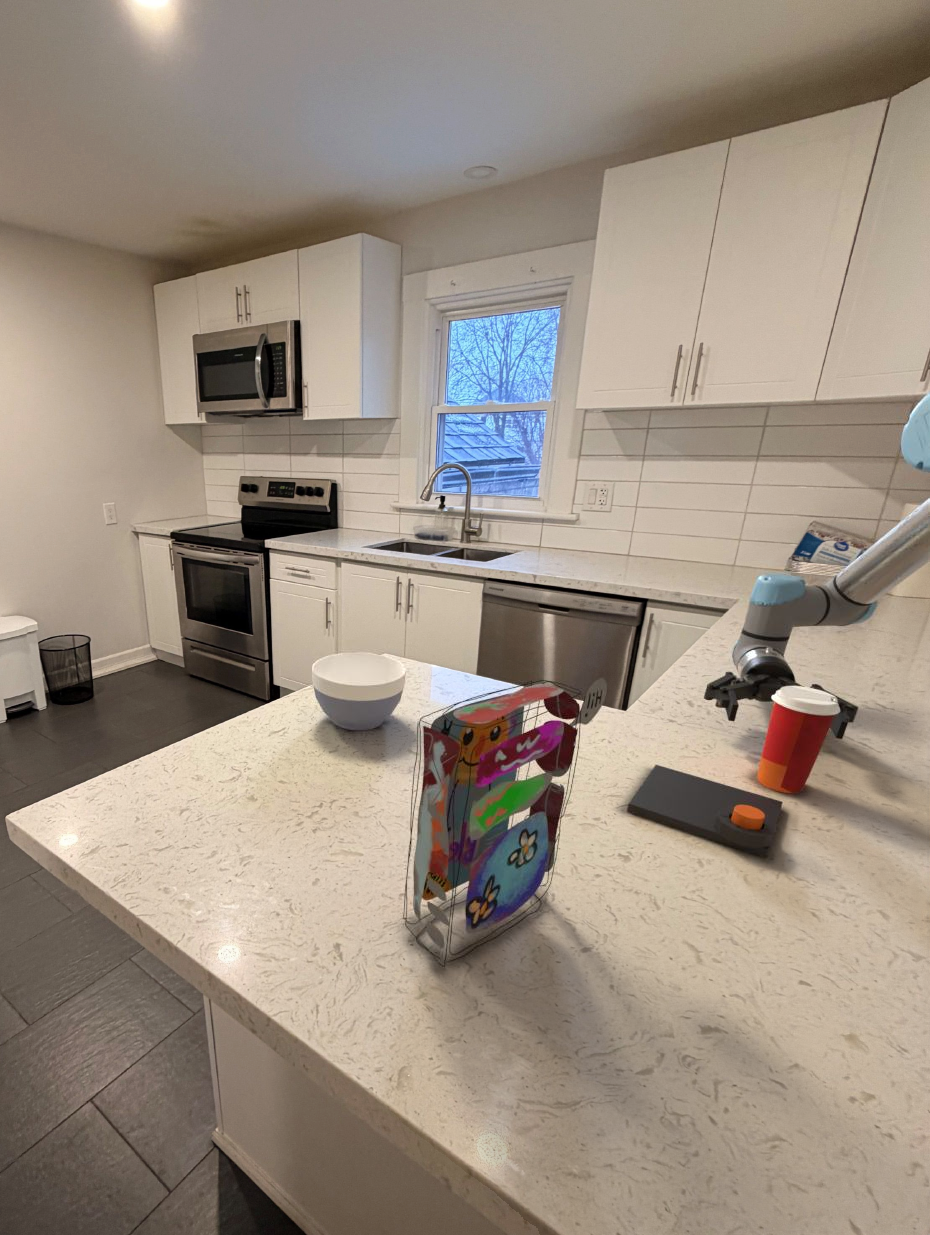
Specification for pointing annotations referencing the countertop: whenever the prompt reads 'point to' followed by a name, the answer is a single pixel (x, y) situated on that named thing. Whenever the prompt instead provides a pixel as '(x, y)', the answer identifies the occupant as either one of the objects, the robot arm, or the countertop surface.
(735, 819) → the tare button
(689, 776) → the scale
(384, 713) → the bowl
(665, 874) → the countertop surface
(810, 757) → the paper cup
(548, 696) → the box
